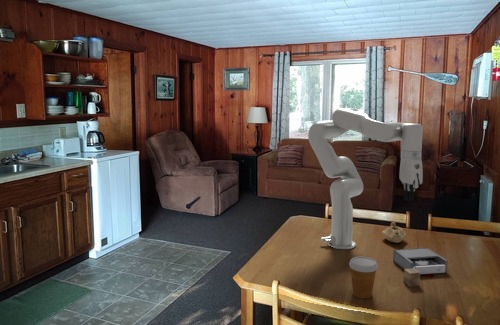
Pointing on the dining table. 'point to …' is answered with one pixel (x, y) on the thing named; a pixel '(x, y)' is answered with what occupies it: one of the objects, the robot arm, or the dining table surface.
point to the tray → (430, 268)
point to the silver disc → (420, 262)
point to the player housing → (416, 257)
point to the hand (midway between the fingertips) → (408, 200)
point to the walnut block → (412, 277)
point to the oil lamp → (394, 233)
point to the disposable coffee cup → (363, 276)
